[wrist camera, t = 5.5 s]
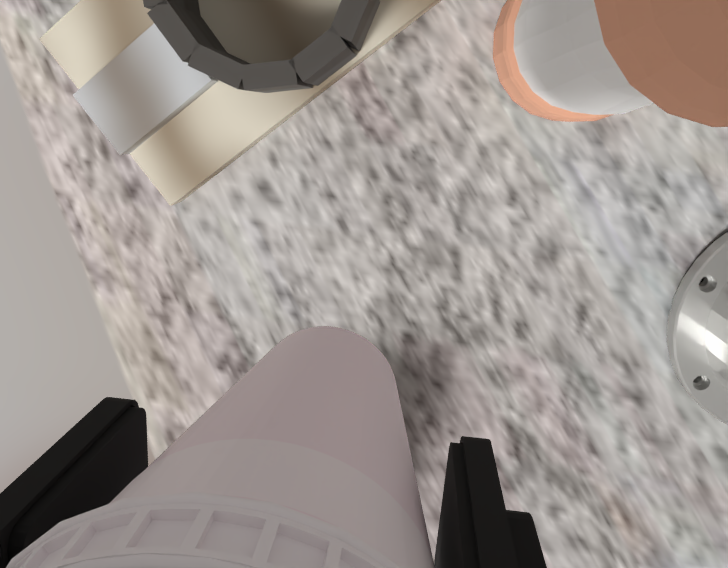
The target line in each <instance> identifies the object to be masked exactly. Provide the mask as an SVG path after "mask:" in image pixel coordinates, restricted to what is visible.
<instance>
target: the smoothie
mask: <svg viewBox="0 0 728 568" xmlns="http://www.w3.org/2000/svg"><path fill="white" fill-rule="evenodd" d="M6 568H435V565H434V561H433V558H432V553H431V548H430V543H429V539H428V534H427V529H426V524H425V519H424V515H423V510H422V505H421V500H420V495H419V490H418V486H417V481H416V476H415V471H414V466H413V462H412V457H411V452H410V447H409V442H408V438H407V433H406V428H405V423H404V418H403V413H402V409H401V404H400V399H399V394H398V389H397V385H396V380H395V376H394V373H393V371H392V368H391V366H390V364H389V362H388V361H387V359H386V358H385V356H384V355H383V354H382V352H381V351H380V350H379V349H378V348H377V347H376V346H375V345H373V344H372V343H371V342H370V341H368V340H367V339H365V338H364V337H362V336H360V335H358V334H356V333H354V332H352V331H349V330H346V329H342V328H337V327H329V326H318V327H311V328H306V329H303V330H299V331H297V332H295V333H292V334H291V335H289V336H287V337H286V338H284V339H283V340H281V341H280V342H279V343H278V344H277V345H276V346H275V347H273V348H272V349H271V350H270V351H269V352H268V353H267V354H266V355H265V356H264V357H263V358H262V359H261V360H260V361H259V362H258V363H257V364H256V365H255V366H254V367H252V368H251V369H250V370H249V371H248V372H247V373H246V374H245V375H244V376H243V377H242V378H241V379H240V380H239V381H238V382H237V383H236V384H235V385H234V386H232V387H231V388H230V389H229V390H228V391H227V392H226V393H225V394H224V395H223V396H222V397H221V398H220V399H219V400H218V401H217V402H216V403H215V404H214V405H213V406H211V407H210V408H209V409H208V410H207V411H206V412H205V413H204V414H203V415H202V416H201V417H200V418H199V419H198V420H197V421H196V422H195V423H194V424H193V425H191V426H190V427H189V428H188V429H187V430H186V431H185V432H184V433H183V434H182V435H181V436H180V437H179V438H178V439H177V440H176V441H175V442H174V443H173V444H172V445H170V446H169V447H168V448H167V449H166V450H165V451H164V452H163V453H162V454H161V455H160V456H159V457H158V458H157V459H156V460H155V461H154V462H153V463H152V464H151V465H149V466H148V467H147V468H146V469H145V470H144V471H143V472H142V473H140V474H139V475H138V476H137V477H136V478H135V479H133V480H132V481H131V482H130V483H129V484H128V485H127V486H126V487H125V488H124V489H123V490H122V491H121V492H120V493H119V494H118V495H117V496H116V497H115V498H114V499H113V500H112V501H111V502H110V503H109V504H107V505H104V506H102V507H99V508H96V509H93V510H91V511H88V512H85V513H83V514H80V515H77V516H74V517H72V518H69V519H66V520H63V521H61V522H59V523H58V524H57V525H55V526H54V527H53V528H51V529H50V530H49V531H47V532H46V533H45V534H44V535H42V536H41V537H40V538H38V539H37V540H36V541H34V542H33V543H32V544H30V545H29V546H28V547H26V548H25V549H24V550H23V551H21V552H20V553H19V554H17V555H16V556H15V557H13V558H12V559H11V561H10V562H9V564H8V565H7V567H6Z"/></svg>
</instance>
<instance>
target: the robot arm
mask: <svg viewBox="0 0 728 568" xmlns="http://www.w3.org/2000/svg"><path fill="white" fill-rule="evenodd" d="M703 277H704V281H703V282H702V283H699V282H700V280H701V279H702V278H703ZM667 346H668V351H669V357H670V362H671V364H672V366H673V369H674V371H675V374H676V376H677V378H678V380H679V381H680V383H681V384H682V386H683V387H684V388H685V390H686V391H687V393H688V394H689V395H690V396H691V397H692V398H693V399H694V400H695V401H696V402H697V403H698V404H699V405H700V406H701V407H702V408H703V409H704V410H705V411H707V412H708V413H709V414H711V415H712V416H714V417H715V418H716V419H718V420H719V421H721V422H723V423H725V424H728V232H727V233H725V234H724V235H722V236H721V237H720V238H718V239H717V240H715V241H714V242H713V243H712V244H711V245H710V246H709V247H708V248H707V249H706V250H705V251H704V252H703V253H702V254H701V255H700V256H699V257H698V258H697V259H696V261H695V262H694V263H693V265H692V266H691V267H690V269H689V270H688V272H687V273H686V274H685V276H684V277H683V279H682V281H681V283H680V285H679V287H678V289H677V292H676V294H675V296H674V298H673V301H672V305H671V309H670V313H669V317H668V323H667ZM696 377H697V378H696ZM147 467H148V451H147V425H146V412H145V409H143V408H139V406H138V403H137V402H136V401H135V400H130V399H121V398H112V397H106V398H105V399H103V400H102V401H101V402H100V403H99V404H98V405H97V406H96V407H94V408H93V409H92V410H91V411H90V412H89V413H88V414H87V415H86V416H85V417H84V418H82V419H81V420H80V421H79V422H78V423H77V424H76V425H75V426H74V427H73V428H71V429H70V430H69V431H68V432H67V433H66V434H65V435H64V436H63V437H62V438H61V439H59V440H58V441H57V442H56V443H55V444H54V445H53V446H52V447H51V448H50V449H49V450H47V451H46V452H45V453H44V454H43V455H42V456H41V457H40V458H39V459H38V460H37V461H35V462H34V464H32V465H31V466H30V467H29V468H28V469H27V470H26V471H25V472H23V473H22V474H21V475H20V476H19V477H18V478H17V479H16V480H15V481H14V482H12V483H11V484H10V485H9V486H8V487H7V488H6V489H5V490H4V491H3V492H2V493H1V494H0V568H6V567H7V565H8V564H9V562H10V561H11V559H12V558H13V557H15V556H16V555H17V554H19V553H20V552H21V551H23V550H24V549H25V548H26V547H28V546H29V545H30V544H32V543H33V542H34V541H36V540H37V539H38V538H40V537H41V536H42V535H44V534H45V533H46V532H47V531H49V530H50V529H51V528H53V527H54V526H55V525H57V524H58V523H59V522H61V521H63V520H66V519H69V518H72V517H74V516H77V515H80V514H83V513H85V512H88V511H91V510H93V509H96V508H99V507H102V506H104V505H107V504H109V503H110V502H111V501H112V500H113V499H114V498H115V497H116V496H117V495H118V494H119V493H120V492H121V491H122V490H123V489H124V488H125V487H126V486H127V485H128V484H129V483H130V482H131V481H132V480H133V479H135V478H136V477H137V476H138V475H139V474H140V473H142V472H143V471H144V470H145V469H146V468H147ZM435 568H547V567H546V564H545V560H544V557H543V553H542V550H541V546H540V542H539V539H538V535H537V532H536V528H535V525H534V521H533V518H532V516H531V514H530V513H527V512H519V511H510V510H506V509H505V504H504V499H503V495H502V490H501V486H500V481H499V477H498V472H497V468H496V463H495V459H494V454H493V449H492V445H491V441H490V440H489V439H482V438H473V437H464V436H462V437H461V440H460V443H452V442H451V443H450V447H449V453H448V461H447V469H446V476H445V484H444V492H443V499H442V507H441V515H440V522H439V530H438V537H437V545H436V553H435Z"/></svg>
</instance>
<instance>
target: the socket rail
mask: <svg viewBox="0 0 728 568" xmlns="http://www.w3.org/2000/svg"><path fill="white" fill-rule="evenodd" d="M440 1H441V0H81V1H80V2H79V3H78V4H76V5H75V6H74V7H73V8H72V9H71V10H70V11H69V12H68V13H67V14H66V15H65V16H64V17H62V18H61V19H60V20H59V21H58V22H57V23H56V24H55V25H54V26H53V27H52V28H51V29H49V30H48V31H47V32H46V33H45V34H44V35H43V36H42V37H41V38H40V41H41V42H42V43H43V44H44V46H45V47H46V48H47V49H48V51H49V52H50V53H51V55H52V56H53V57H54V58H55V60H56V61H57V62H58V64H59V65H60V66H61V67H62V69H63V70H64V71H65V72H66V74H67V75H68V76H69V78H70V79H71V80H72V81H73V83H74V84H75V85H76V86H77V88H78V89H79V90H78V91H77V92H76V93H74V94H73V96H74V97H75V99H76V100H77V101H78V103H79V104H80V105H81V106H82V108H83V109H84V110H85V111H86V113H87V114H88V115H89V116H90V118H91V119H92V120H93V122H94V123H95V124H96V125H97V127H98V128H99V129H100V130H101V132H102V133H103V134H104V135H105V137H106V138H107V139H108V141H109V142H110V143H111V144H112V146H113V147H114V148H115V149H116V151H117V152H118V153H119V154H120V155H126V154H130V155H131V156H132V158H133V159H134V160H135V162H136V163H137V164H138V165H139V167H140V168H141V169H142V170H143V172H144V173H145V174H146V176H147V177H148V178H149V179H150V181H151V182H152V183H153V184H154V186H155V187H156V188H157V190H158V191H159V192H160V193H161V195H162V196H163V197H164V198H165V200H166V201H167V202H168V204H169V205H170V206H172V205H174V204H177V203H179V202H182V201H183V200H184V199H185V198H187V197H188V196H189V195H191V194H192V193H193V192H194V191H196V190H197V189H198V188H200V187H201V186H202V185H204V184H205V183H206V182H207V181H209V180H210V179H211V178H213V177H214V176H215V175H216V174H218V173H219V172H220V171H222V170H223V169H224V168H225V167H227V166H228V165H229V164H231V163H232V162H233V161H235V160H236V159H237V158H238V157H240V156H241V155H242V154H244V153H245V152H246V151H247V150H249V149H250V148H251V147H253V146H254V145H255V144H256V143H258V142H259V141H260V140H262V139H263V138H264V137H266V136H267V135H268V134H269V133H271V132H272V131H273V130H275V129H276V128H277V127H278V126H280V125H281V124H282V123H284V122H285V121H286V120H287V119H289V118H290V117H291V116H293V115H294V114H295V113H297V112H298V111H299V110H300V109H302V108H303V107H304V106H306V105H307V104H308V103H309V102H311V101H312V100H313V99H315V98H316V97H317V96H318V95H320V94H321V93H322V92H324V91H325V90H326V89H328V88H329V87H330V86H331V85H333V84H334V83H335V82H337V81H338V80H339V79H340V78H342V77H343V76H344V75H346V74H347V73H348V72H349V71H351V70H352V69H353V68H355V67H356V66H357V65H359V64H360V63H361V62H362V61H364V60H365V59H366V58H368V57H369V56H370V55H371V54H373V53H374V52H375V51H377V50H378V49H379V48H380V47H382V46H383V45H384V44H386V43H387V42H388V41H390V40H391V39H392V38H393V37H395V36H396V35H397V34H399V33H400V32H401V31H402V30H404V29H405V28H406V27H408V26H409V25H410V24H411V23H413V22H414V21H415V20H417V19H418V18H419V17H421V16H422V15H423V14H424V13H426V12H427V11H428V10H430V9H431V8H432V7H433V6H435V5H436V4H437V3H439V2H440Z"/></svg>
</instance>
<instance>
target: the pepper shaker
mask: <svg viewBox="0 0 728 568" xmlns="http://www.w3.org/2000/svg"><path fill="white" fill-rule="evenodd" d="M493 59H494V63H495V67H496V70H497V74H498V77H499V81H500V82H501V84H502V85H503V87H504V88H505V90H506V91H507V93H508V94H509V96H510V97H511V99H512V100H513V101H514V102H516V103H517V104H518V105H520V106H521V107H522V108H524V109H525V110H526V111H528V112H529V113H531V114H533V115H537V116H540V117H543V118H546V119H550V120H554V121H569V122H571V121H596V120H599V119H602V118H605V117H608V116H611V115H614V114H625V113H628V112H631V111H634V110H637V109H639V108H642V107H645V106H648V105H651V104H653V103H655V104H656V105H657V106H659V107H660V108H661V109H663V110H664V111H665V112H667V113H669V114H672V115H675V116H678V117H682V118H685V119H688V120H691V121H695V122H698V123H701V124H704V125H708V126H711V127H728V0H507V2H506V3H505V5H504V6H503V7H502V10H501V13H500V16H499V19H498V22H497V25H496V28H495V31H494V44H493Z"/></svg>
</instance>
